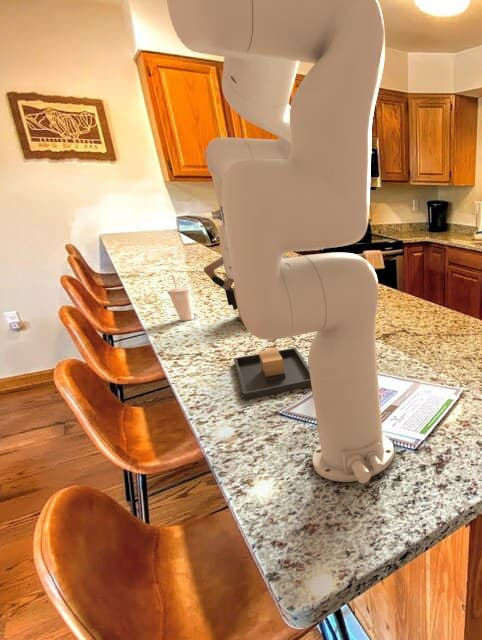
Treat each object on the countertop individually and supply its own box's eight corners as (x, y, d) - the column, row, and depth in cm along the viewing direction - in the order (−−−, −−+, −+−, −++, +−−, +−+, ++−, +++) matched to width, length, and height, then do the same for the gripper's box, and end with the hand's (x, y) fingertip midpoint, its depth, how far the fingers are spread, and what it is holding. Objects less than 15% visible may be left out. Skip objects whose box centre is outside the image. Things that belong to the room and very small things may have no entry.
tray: (317, 387, 91) (316, 378, 90) (245, 403, 84) (243, 394, 83) (297, 355, 108) (295, 347, 107) (235, 366, 101) (233, 358, 100)
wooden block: (285, 377, 94) (282, 359, 92) (266, 381, 92) (262, 362, 90) (280, 366, 99) (277, 348, 97) (262, 370, 98) (258, 352, 96)
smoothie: (178, 317, 138) (166, 273, 132) (200, 315, 139) (189, 272, 134) (172, 322, 132) (160, 277, 126) (196, 321, 134) (184, 276, 128)
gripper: (191, 220, 74) (214, 315, 81) (293, 215, 82) (307, 303, 89) (191, 218, 80) (213, 307, 87) (286, 214, 88) (299, 296, 95)
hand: (260, 304), depth 88 cm, fingers open, 9 cm apart
